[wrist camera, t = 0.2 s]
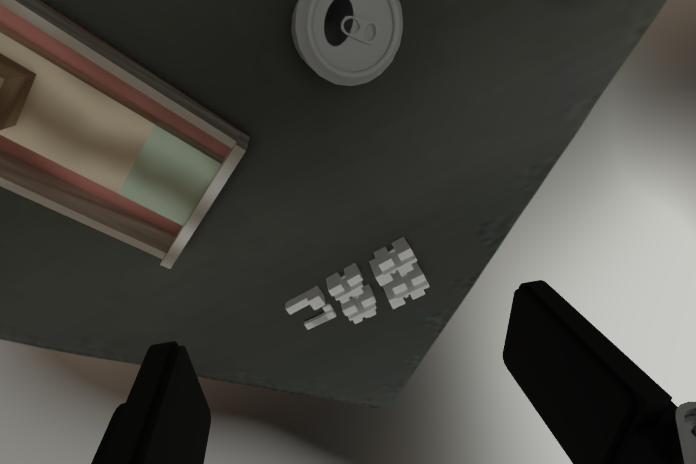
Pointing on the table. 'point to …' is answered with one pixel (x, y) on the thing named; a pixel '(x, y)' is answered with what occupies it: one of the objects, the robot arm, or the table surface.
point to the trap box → (109, 136)
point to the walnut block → (13, 90)
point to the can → (347, 37)
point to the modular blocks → (367, 286)
